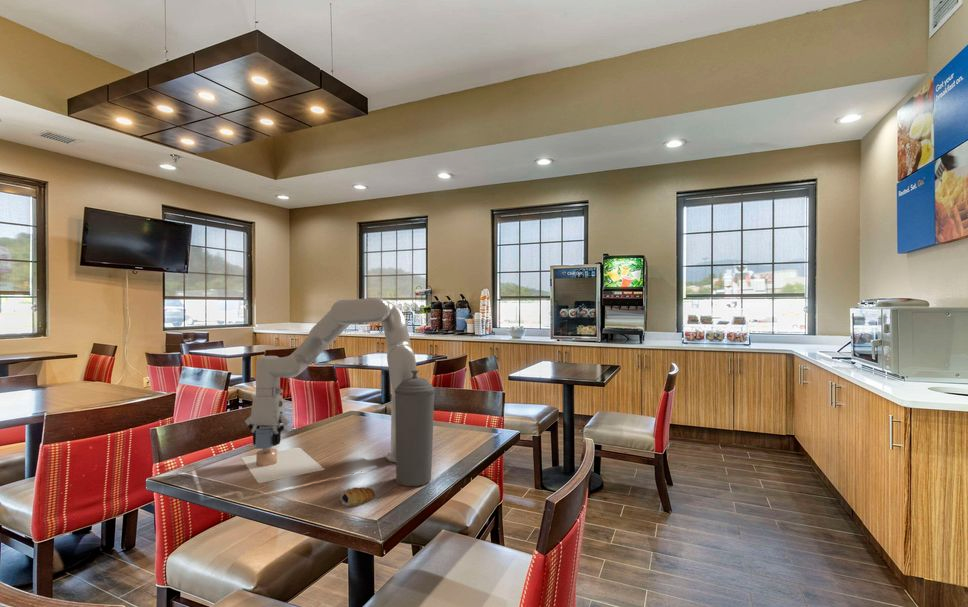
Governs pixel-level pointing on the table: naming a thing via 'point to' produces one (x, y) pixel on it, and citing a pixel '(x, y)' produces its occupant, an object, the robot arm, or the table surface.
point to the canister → (414, 430)
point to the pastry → (357, 496)
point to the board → (283, 465)
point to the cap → (264, 437)
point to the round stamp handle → (266, 457)
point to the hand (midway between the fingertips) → (266, 443)
